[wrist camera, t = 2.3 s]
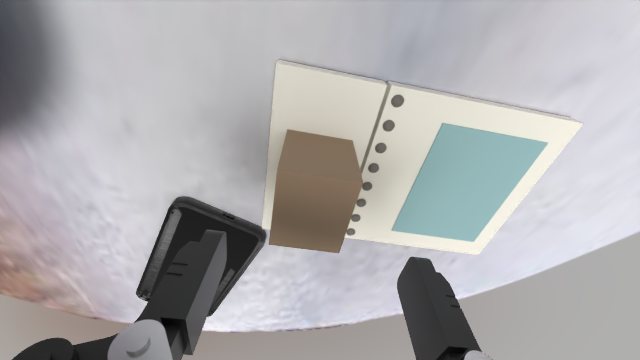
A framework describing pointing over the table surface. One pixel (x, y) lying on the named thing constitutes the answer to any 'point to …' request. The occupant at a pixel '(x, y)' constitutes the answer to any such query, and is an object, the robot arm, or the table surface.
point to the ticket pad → (450, 168)
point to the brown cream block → (316, 153)
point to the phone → (189, 225)
